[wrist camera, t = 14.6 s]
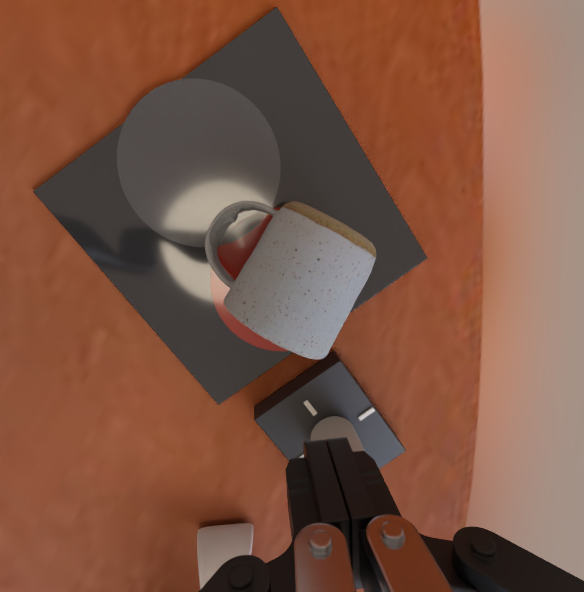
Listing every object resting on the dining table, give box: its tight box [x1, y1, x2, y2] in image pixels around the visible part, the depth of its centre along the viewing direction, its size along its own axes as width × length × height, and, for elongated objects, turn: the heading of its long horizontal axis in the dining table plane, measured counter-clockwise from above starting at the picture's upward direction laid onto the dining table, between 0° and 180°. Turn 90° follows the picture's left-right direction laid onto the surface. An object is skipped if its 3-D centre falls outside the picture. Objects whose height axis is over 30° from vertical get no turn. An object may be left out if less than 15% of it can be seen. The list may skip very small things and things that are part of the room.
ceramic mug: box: [205, 201, 376, 359], centre depth 25 cm, size 11×8×8 cm
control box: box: [254, 351, 406, 469], centre depth 32 cm, size 10×8×2 cm
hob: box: [33, 7, 427, 405], centre depth 28 cm, size 21×20×1 cm
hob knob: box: [311, 416, 365, 452], centre depth 28 cm, size 4×4×5 cm
